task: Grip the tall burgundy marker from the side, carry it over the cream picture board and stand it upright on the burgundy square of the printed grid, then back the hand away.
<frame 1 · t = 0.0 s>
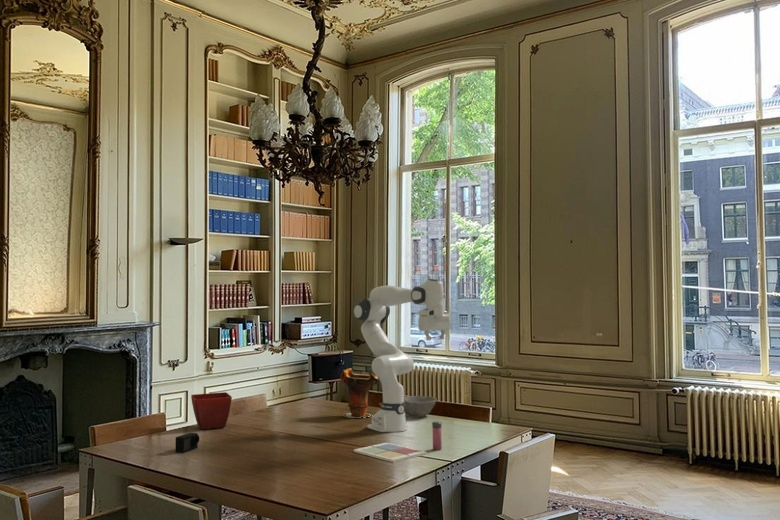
hand: (435, 339, 313), 48 cm above the table, fingers open, 8 cm apart
plant pot: (211, 427, 344), on the table
digital camera: (187, 451, 291), on the table
picture board: (389, 453, 282), on the table
ceramic bowl: (417, 416, 371), on the table
marker: (437, 449, 288), on the table
decorative vase: (359, 416, 372), on the table
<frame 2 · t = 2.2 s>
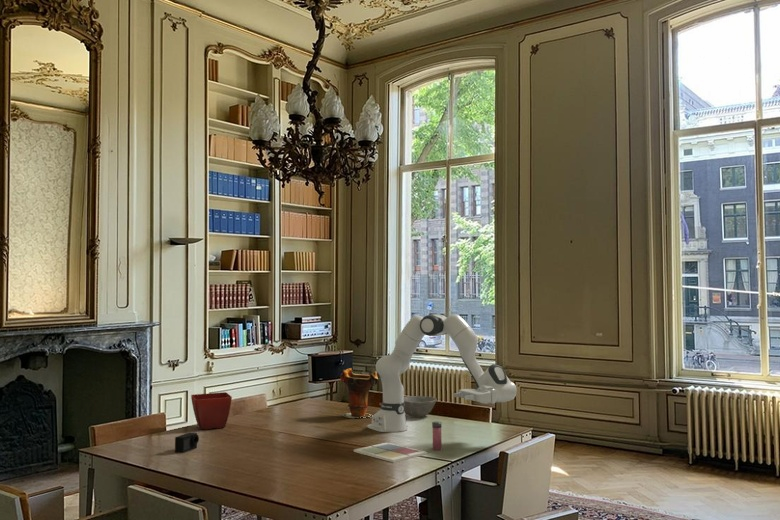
hand: (459, 396, 294), 23 cm above the table, fingers open, 8 cm apart
nothing on the table moved.
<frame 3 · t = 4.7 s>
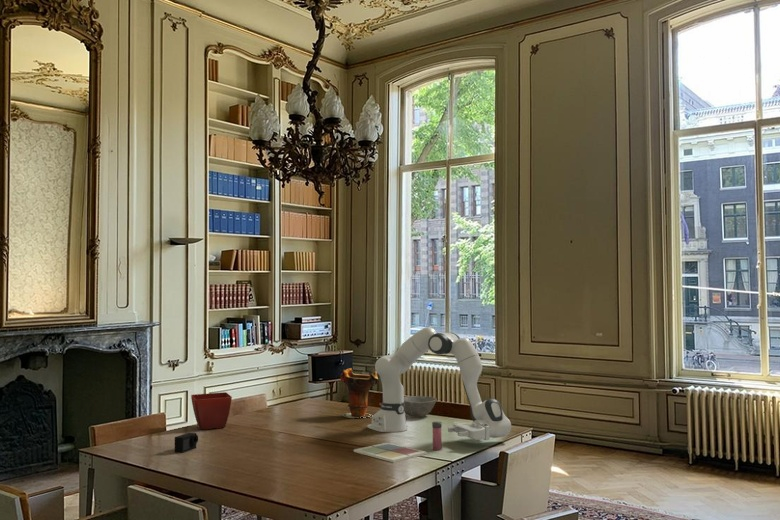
hand: (453, 432, 292), 7 cm above the table, fingers open, 8 cm apart
nothing on the table moved.
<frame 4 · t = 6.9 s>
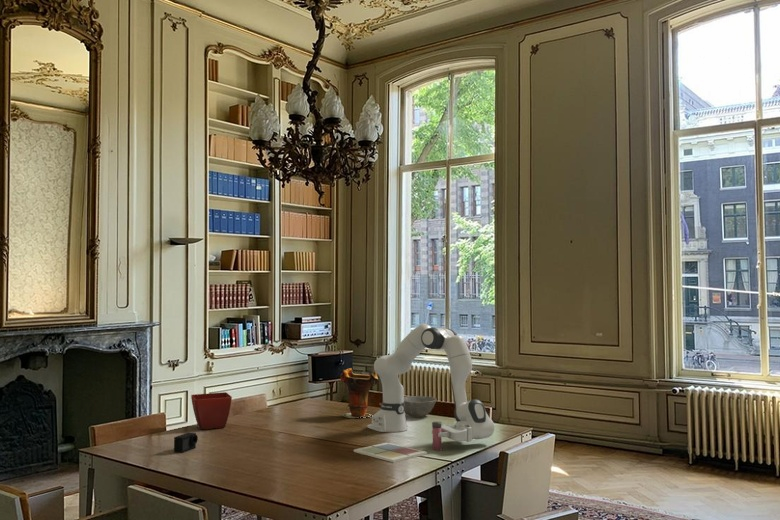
hand: (435, 433, 289), 7 cm above the table, fingers closed on marker, 4 cm apart
marker: (437, 449, 288), on the table, touching gripper
everything else where it was.
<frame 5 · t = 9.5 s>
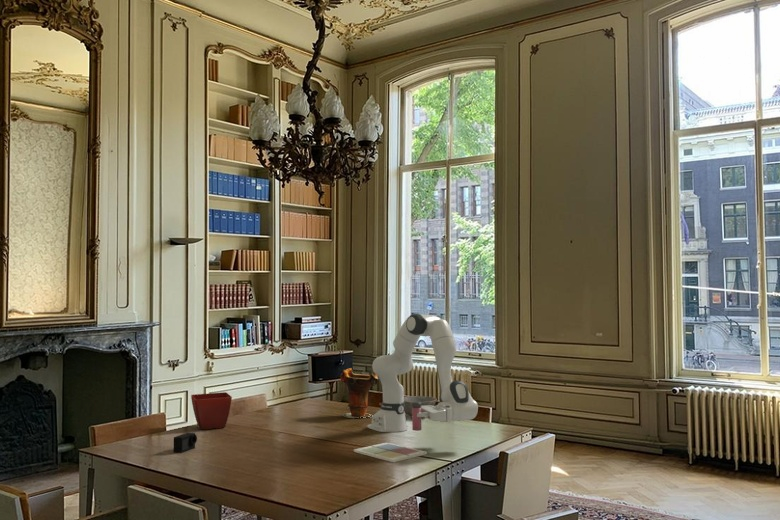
hand: (414, 413, 284), 17 cm above the table, fingers closed on marker, 4 cm apart
marker: (416, 429, 284), point 10 cm above the table, touching gripper
when the fingers open (10 cm above the table, at t = 12.1 s): marker drops 1 cm, resting on picture board.
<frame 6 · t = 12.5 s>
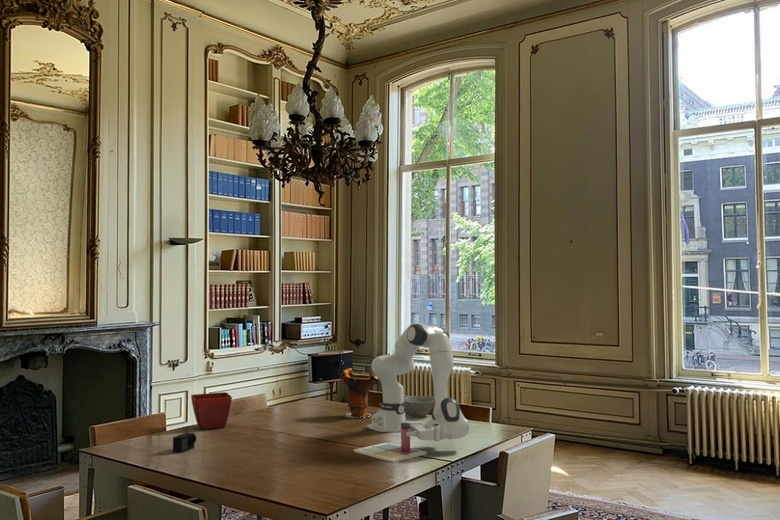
hand: (403, 431, 282), 10 cm above the table, fingers open, 8 cm apart
marker: (405, 450, 281), point 1 cm above the table, touching picture board
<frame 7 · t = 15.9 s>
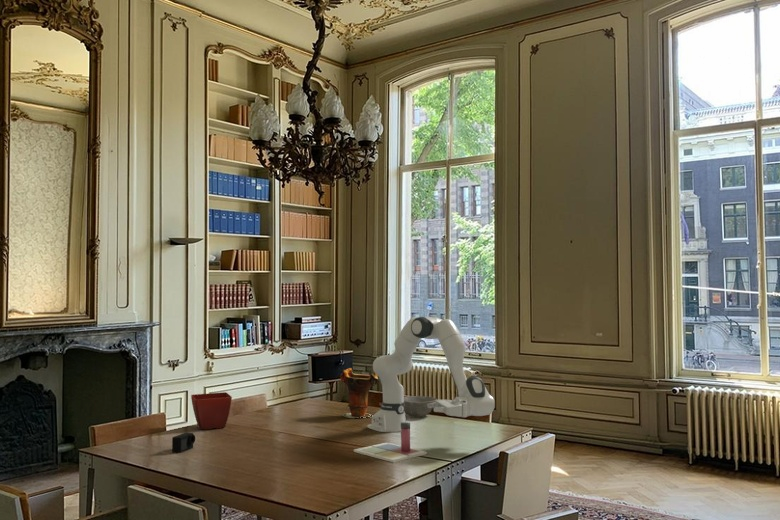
hand: (430, 407, 285), 19 cm above the table, fingers open, 8 cm apart
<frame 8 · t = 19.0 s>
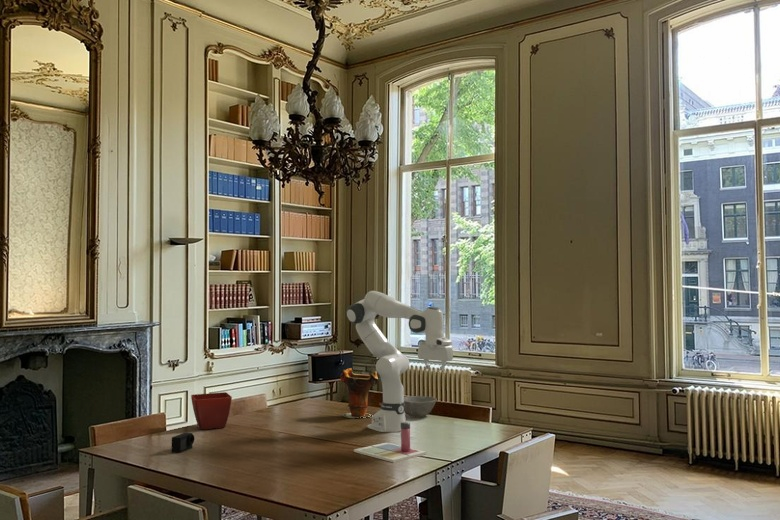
hand: (435, 369, 306), 34 cm above the table, fingers open, 8 cm apart
at the end: marker 0.0 cm from the target spot on the picture board, point 1.1 cm above the picture board's base; marker tilted 1°; the gripper is holding nothing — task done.
